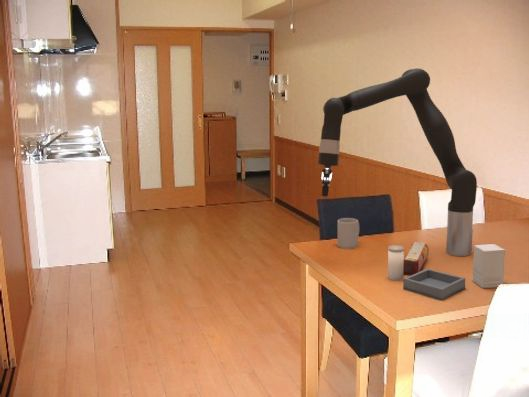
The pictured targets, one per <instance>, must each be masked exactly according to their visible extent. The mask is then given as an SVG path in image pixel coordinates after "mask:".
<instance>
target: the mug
mask: <svg viewBox="0 0 529 397" xmlns="http://www.w3.org/2000/svg"><path fill="white" fill-rule="evenodd" d="M359 234H360V222H359V220H358V219H356V218H353V217H342V218H338V220H337V240H336V241H337V244H336V245H337V246H338V248H340V249H346V250H347V249H348V250H350V248H352V249H356V248H358V247H359ZM357 246H358V247H357ZM355 247H356V248H355Z"/></svg>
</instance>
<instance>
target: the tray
mask: <svg viewBox="0 0 529 397" xmlns="http://www.w3.org/2000/svg"><path fill="white" fill-rule="evenodd" d="M402 281H403V285H402V288H403V290H405V291H410V292H411V293H417V294H420V295H423V296H427V297H429V298H432V299H436V300H438V301H439V300H440V301H443V300H445V299H447V298H449V297H451V296H453V295H455V294H457V293H459V292H462V291H463V290H465V289H466V277H462V276H458V275H454V274H450V273H446V272H443V271H438V270H435V269H431V268H425V269H423V270H420V272H418V273H416V274H413V275H408V276H407V277H403V279H402Z"/></svg>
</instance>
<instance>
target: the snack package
mask: <svg viewBox="0 0 529 397" xmlns="http://www.w3.org/2000/svg"><path fill="white" fill-rule="evenodd" d="M429 249H430V248H429V246H428V244H427V243H426V242H421V241H415V242H413V243H411V246H410V248H409V250H408V251H407V253H405V254H406V255H405V256H404V267H403V275H404V276H406V275H407V276H411V275H413V274H416V273H418V272H420V271H421V268H422V267H423V265H424V263H425V261H426V259H427V258H428V255H429V252H430V250H429Z"/></svg>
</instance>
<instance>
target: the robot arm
mask: <svg viewBox="0 0 529 397" xmlns="http://www.w3.org/2000/svg"><path fill="white" fill-rule="evenodd" d="M430 83H431V77H430V75H429V73H428V72H427V71H426V70H424V69H422V68H412V69H411V68H410V69H408V70H406V71H404V72H403V73H402V74H401V76H399V77H397V78H395V79H392V80H390V81H387V82H384V83H383V82H382V83H378V84H374V85H370V86H366V87H363V88H360V89H357V90H354V91H352V92H349V93H348V94H346V95H342V96H338V97H331V98H329V99H327V101H326V102H325V103H324V105H323V108H322V110H323V114H324V115H323V125H322V127H321V136H320V143H319V148H318V149H319V150H318V159H317V164H318V165H322V166H324V168H323V169H322V170H321V185H322V186H321V187H322V190H321V196H322V197H328V195H329V190H330V184H331V182H332V176H333V173H334V171H333V170H332V167H333V166H334V167H338V165H339V160H340V148H341V146H340V145H341V144H340V143H341V142H340V141H341V131H342V130H341V129H342V128H341V127H342V123H343V117H344V115H347V114H349V113H352V112H355V111H359V110H362V109H365V108H369V107H371V106H374V105H377V104H380V103H382V102H386V101H388V100H391V99H395V98H398V97H401V96H402V97H403V96H406V98H407V100H408V101H409V103H410V104H411V106H412V108H413V110H414V112H415V114H416V118H417V120H418V122H419V124H420V127H421V129H422V131H423V132H422V133H424V136H425V138H426V140H427V143H428V145H429V146H430V148H431V149H432V150H431V151H432V152H433V153H434V155H435V156H436V159H437V160H438V163H439V165H440V167H441V169H442V173H443V174H444V178H445V182H446V184H447V185H448V187H449V188H450V190H451V196H450V201H449V202H448V204H447V221H446V222H447V223H446V224H447V226H446V227H447V228H446V245H445V246H446V248H445V250H446V251H445V252H446V254H448V255H450V256H454V257H469V256H470V255H472V250H473V231H474V229H473V225H474V224H473V222H474V221H473V220H474V206H475V205H476V202H477V200H476V199H477V189H478V188H477V187H478V186H477V185H478V182H477V177H476V175H475V173H473V171H470V170H469V169H467V168H465V165H464V164H463V162H462V161H461V159H460V157H459V154H458V152H457V148H456V142H455V136H454V133H453V131H452V129H451V127H450V124H449V123H448V121H447V119H446V117H445V116H444V114H443V113H442V112H441V110H440V109H439V108H438V106H436V104H435V103H434V101H433V99H432V98H431V96H430V93H429V91H428V88H429V86H430V85H431V84H430Z"/></svg>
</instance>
